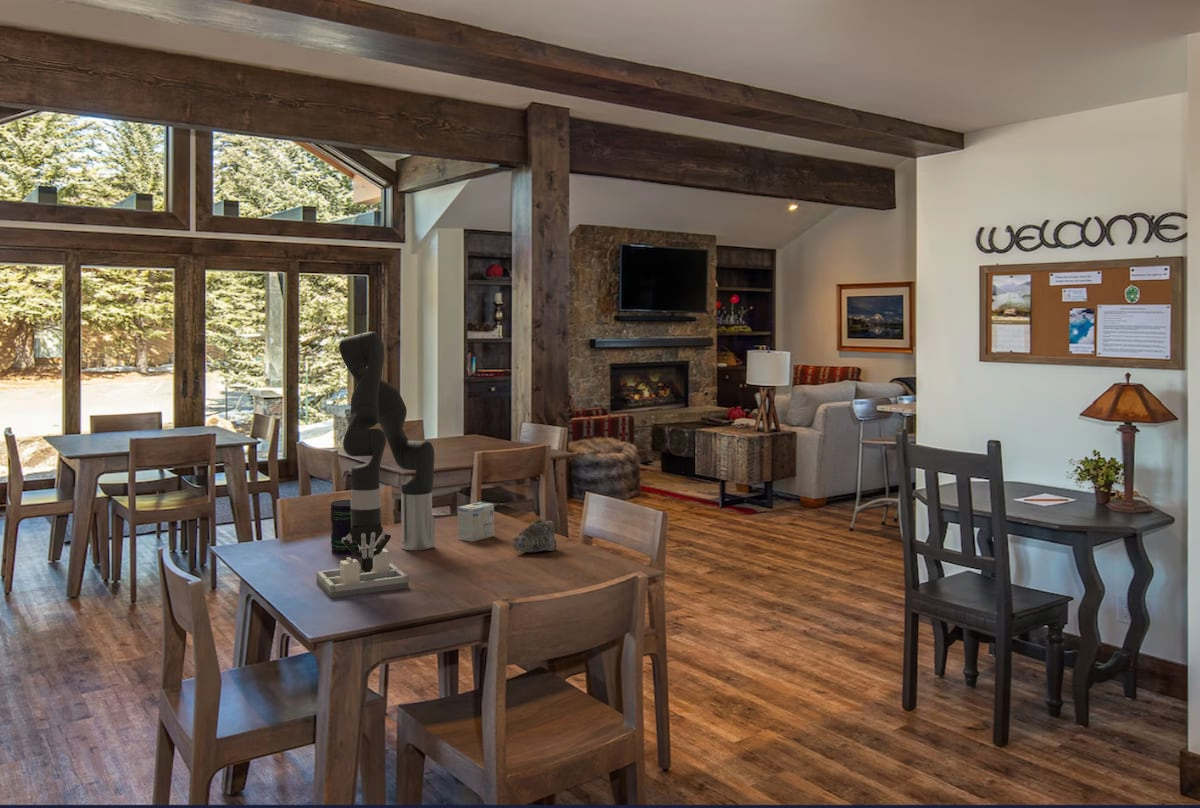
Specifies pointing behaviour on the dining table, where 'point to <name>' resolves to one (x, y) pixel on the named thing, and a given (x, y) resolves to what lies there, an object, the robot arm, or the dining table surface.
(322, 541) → the dining table surface
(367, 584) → the switch bank
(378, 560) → the tab
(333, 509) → the storage jar
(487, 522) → the light bulb box
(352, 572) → the tab
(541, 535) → the mineral rock
